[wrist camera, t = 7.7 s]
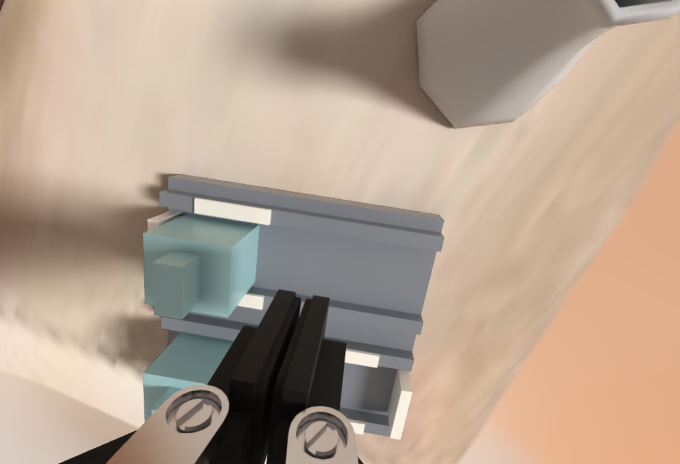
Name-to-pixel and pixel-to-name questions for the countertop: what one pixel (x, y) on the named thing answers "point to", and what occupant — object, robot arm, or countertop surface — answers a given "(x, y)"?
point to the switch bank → (328, 281)
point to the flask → (512, 50)
